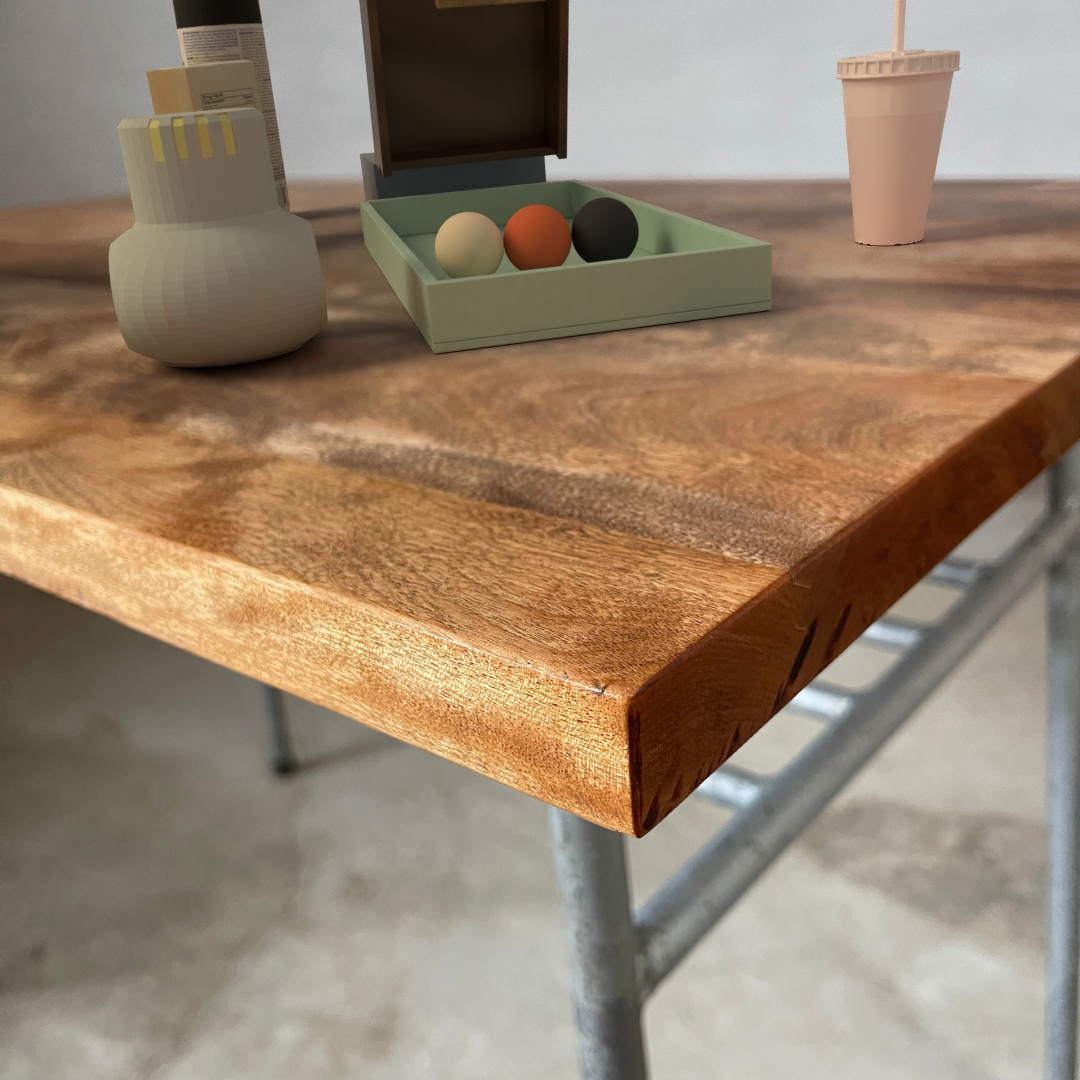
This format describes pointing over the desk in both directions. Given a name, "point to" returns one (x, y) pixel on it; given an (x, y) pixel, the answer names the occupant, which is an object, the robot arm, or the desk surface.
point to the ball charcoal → (604, 230)
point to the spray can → (233, 57)
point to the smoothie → (894, 135)
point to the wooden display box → (465, 80)
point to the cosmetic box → (204, 87)
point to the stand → (449, 177)
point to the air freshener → (211, 245)
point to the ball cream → (469, 246)
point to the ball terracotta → (537, 238)
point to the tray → (562, 270)
